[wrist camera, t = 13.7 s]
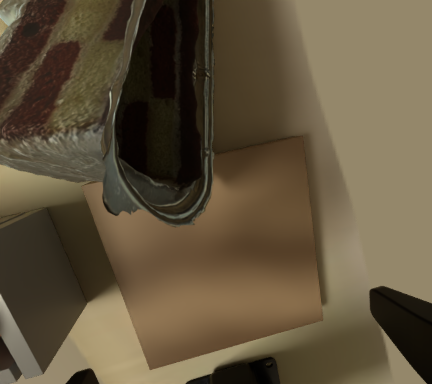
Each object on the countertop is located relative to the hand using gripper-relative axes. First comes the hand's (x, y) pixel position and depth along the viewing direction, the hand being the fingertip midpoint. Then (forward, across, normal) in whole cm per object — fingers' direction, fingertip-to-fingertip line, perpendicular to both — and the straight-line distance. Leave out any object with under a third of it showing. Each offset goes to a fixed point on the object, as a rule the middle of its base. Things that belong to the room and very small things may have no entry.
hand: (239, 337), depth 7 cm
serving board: (+6, 0, +1) cm, 6 cm away
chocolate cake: (+8, 0, -12) cm, 15 cm away
